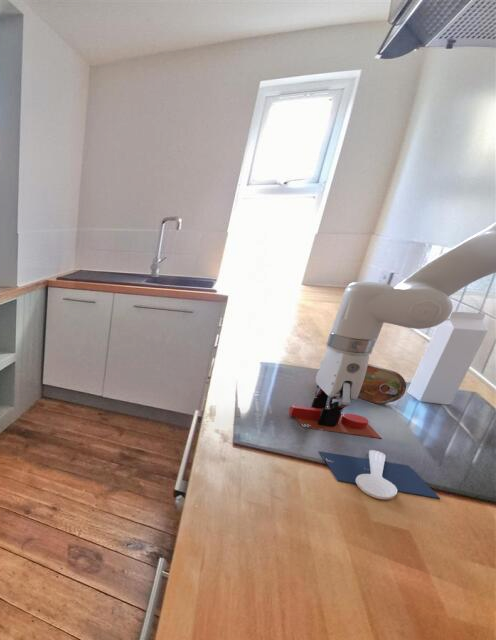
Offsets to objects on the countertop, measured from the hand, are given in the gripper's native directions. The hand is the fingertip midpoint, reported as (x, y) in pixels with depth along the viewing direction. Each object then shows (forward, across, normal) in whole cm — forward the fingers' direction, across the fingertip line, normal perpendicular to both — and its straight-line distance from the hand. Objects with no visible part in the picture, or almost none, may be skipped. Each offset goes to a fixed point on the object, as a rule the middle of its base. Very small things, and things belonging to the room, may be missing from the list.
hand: (321, 419), depth 93 cm
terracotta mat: (0, 0, -2) cm, 2 cm away
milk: (+1, +23, -29) cm, 37 cm away
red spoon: (0, 0, -1) cm, 1 cm away
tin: (+1, +19, -14) cm, 24 cm away
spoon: (0, -21, -2) cm, 21 cm away
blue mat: (0, -20, -2) cm, 21 cm away
